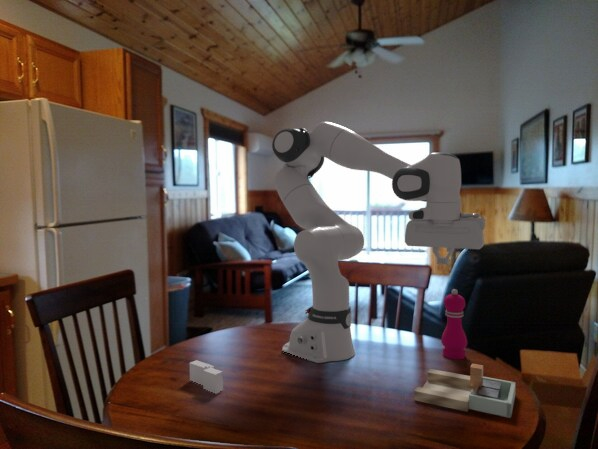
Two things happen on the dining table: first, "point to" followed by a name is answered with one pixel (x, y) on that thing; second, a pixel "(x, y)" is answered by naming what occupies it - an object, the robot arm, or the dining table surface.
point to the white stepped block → (206, 376)
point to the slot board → (445, 390)
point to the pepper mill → (454, 327)
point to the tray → (495, 400)
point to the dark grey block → (492, 385)
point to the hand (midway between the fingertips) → (442, 264)
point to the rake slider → (476, 378)
